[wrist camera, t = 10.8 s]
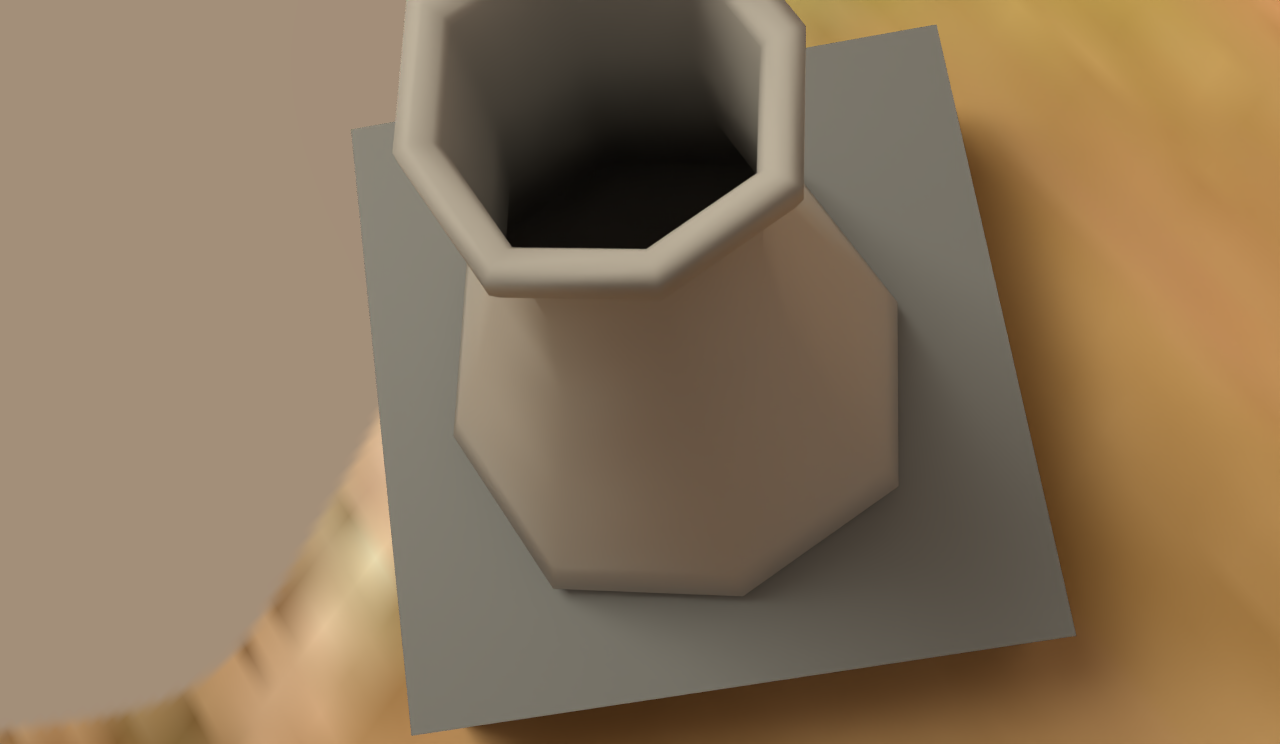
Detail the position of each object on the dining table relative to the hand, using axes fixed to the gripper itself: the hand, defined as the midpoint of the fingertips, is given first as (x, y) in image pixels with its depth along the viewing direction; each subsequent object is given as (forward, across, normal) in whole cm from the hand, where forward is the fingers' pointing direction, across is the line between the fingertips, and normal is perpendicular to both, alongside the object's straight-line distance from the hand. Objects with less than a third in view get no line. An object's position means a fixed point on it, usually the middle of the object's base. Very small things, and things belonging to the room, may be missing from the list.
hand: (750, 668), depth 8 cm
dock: (+12, 0, +5) cm, 13 cm away
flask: (+10, 0, +4) cm, 10 cm away
